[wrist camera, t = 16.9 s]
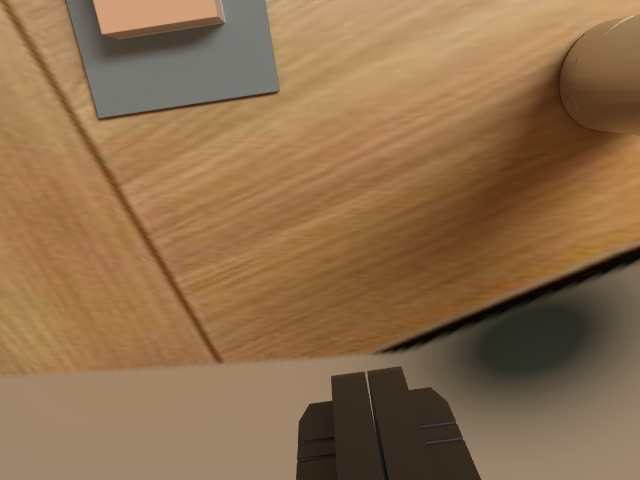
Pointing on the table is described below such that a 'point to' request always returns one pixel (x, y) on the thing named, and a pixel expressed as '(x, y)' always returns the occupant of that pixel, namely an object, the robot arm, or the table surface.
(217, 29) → the mat
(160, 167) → the table surface
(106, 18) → the peach rectangular block
